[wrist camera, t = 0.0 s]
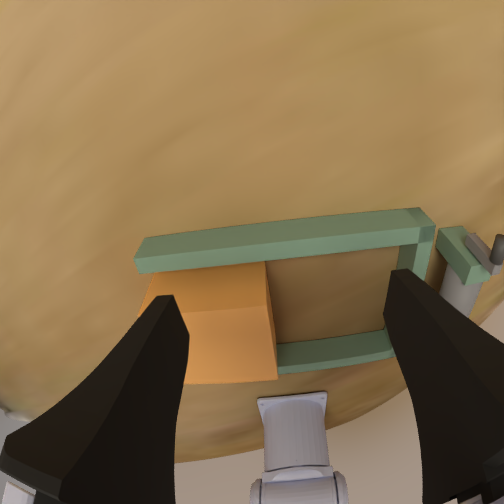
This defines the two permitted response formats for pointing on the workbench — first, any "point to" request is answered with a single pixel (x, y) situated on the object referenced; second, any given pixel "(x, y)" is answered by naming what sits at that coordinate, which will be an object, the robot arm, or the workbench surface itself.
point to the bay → (335, 241)
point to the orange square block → (223, 321)
